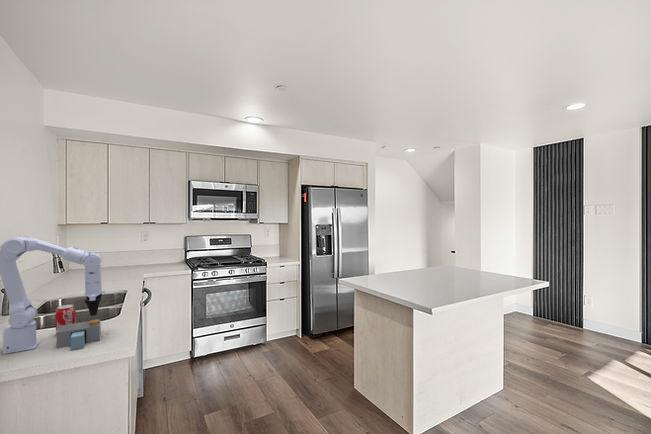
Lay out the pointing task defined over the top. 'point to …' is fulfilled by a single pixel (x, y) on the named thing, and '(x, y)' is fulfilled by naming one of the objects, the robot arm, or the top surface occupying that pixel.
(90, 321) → the plunger
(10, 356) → the top surface
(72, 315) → the soda can
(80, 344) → the block
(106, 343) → the top surface
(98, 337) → the housing
